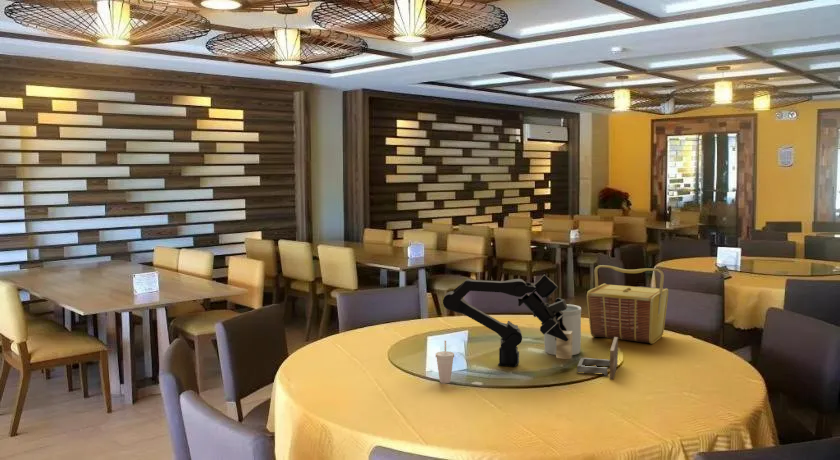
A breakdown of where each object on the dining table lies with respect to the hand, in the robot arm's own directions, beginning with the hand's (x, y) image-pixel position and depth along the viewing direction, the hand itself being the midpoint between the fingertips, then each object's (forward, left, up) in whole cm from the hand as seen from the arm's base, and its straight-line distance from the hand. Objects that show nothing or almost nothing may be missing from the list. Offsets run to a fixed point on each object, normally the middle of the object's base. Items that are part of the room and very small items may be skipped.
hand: (568, 338), depth 257 cm
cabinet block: (-1, 0, -7) cm, 7 cm away
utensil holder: (-5, +22, -11) cm, 25 cm away
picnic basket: (+18, +53, -11) cm, 57 cm away
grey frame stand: (+10, 0, -11) cm, 14 cm away
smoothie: (-37, -29, -11) cm, 49 cm away
